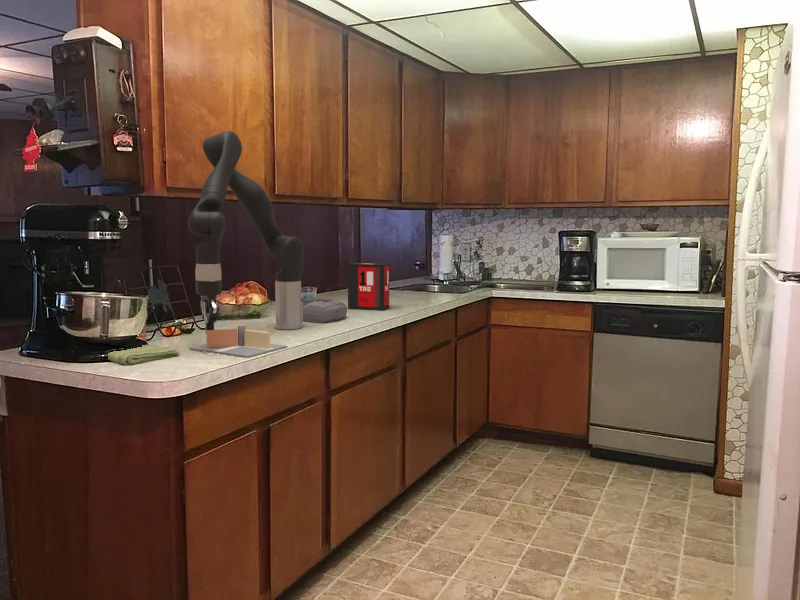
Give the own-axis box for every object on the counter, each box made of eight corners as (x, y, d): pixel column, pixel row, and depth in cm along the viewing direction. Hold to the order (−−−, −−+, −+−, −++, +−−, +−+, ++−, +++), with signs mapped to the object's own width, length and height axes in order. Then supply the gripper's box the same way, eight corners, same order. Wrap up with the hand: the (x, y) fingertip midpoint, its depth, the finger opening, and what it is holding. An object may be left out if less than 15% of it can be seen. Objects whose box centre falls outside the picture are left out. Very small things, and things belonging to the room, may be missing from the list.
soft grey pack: (326, 324, 247) (354, 318, 265) (326, 303, 246) (354, 297, 264) (294, 321, 254) (324, 315, 272) (294, 300, 253) (323, 295, 271)
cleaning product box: (389, 308, 294) (389, 263, 292) (384, 310, 285) (384, 265, 283) (354, 306, 298) (354, 262, 295) (347, 309, 289) (348, 264, 287)
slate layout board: (230, 340, 213) (230, 320, 212) (287, 347, 203) (287, 326, 202) (189, 349, 198) (188, 328, 197) (248, 357, 187) (247, 335, 186)
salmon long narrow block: (236, 344, 202) (236, 328, 201) (237, 345, 201) (237, 328, 200) (206, 346, 198) (206, 330, 197) (207, 347, 197) (207, 330, 196)
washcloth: (182, 357, 189) (182, 346, 189) (126, 368, 175) (126, 356, 174) (154, 351, 196) (154, 341, 196) (99, 361, 182) (98, 350, 182)
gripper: (190, 276, 201) (191, 332, 203) (202, 281, 190) (203, 340, 192) (214, 275, 205) (216, 330, 207) (227, 280, 194) (228, 337, 196)
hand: (210, 334), depth 200 cm, fingers closed
